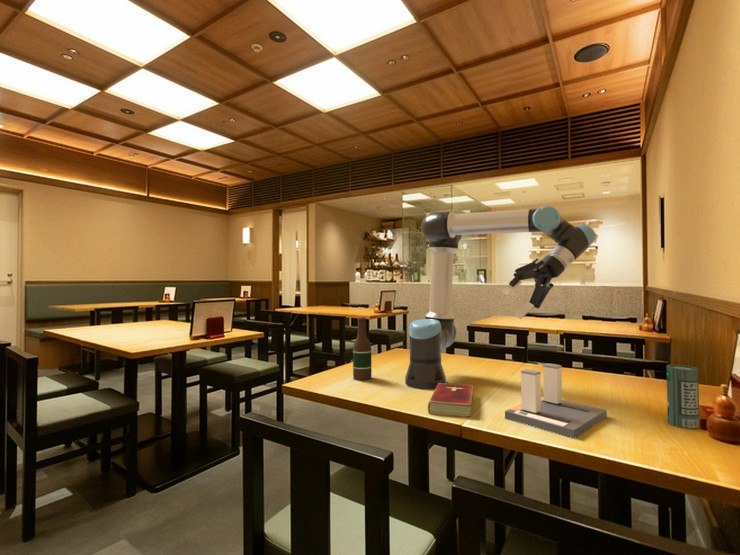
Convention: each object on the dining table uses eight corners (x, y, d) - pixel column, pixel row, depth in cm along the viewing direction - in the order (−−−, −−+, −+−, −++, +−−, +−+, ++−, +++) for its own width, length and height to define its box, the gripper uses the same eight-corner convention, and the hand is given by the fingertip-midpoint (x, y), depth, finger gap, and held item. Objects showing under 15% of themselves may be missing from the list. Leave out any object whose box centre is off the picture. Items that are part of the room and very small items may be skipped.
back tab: (543, 400, 112) (543, 364, 112) (548, 398, 114) (547, 363, 114) (557, 403, 109) (556, 366, 109) (562, 401, 110) (561, 365, 111)
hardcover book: (427, 415, 109) (427, 400, 109) (437, 394, 129) (437, 382, 129) (470, 419, 105) (470, 404, 105) (473, 397, 125) (473, 384, 125)
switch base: (504, 418, 104) (504, 370, 104) (542, 401, 118) (541, 359, 119) (573, 438, 90) (573, 383, 91) (606, 417, 105) (605, 369, 105)
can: (687, 420, 101) (685, 364, 102) (704, 429, 95) (703, 370, 96) (662, 420, 102) (661, 364, 102) (679, 428, 96) (677, 369, 96)
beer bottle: (349, 377, 151) (349, 317, 152) (367, 375, 155) (366, 316, 155) (357, 381, 144) (356, 318, 145) (375, 379, 148) (374, 317, 148)
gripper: (555, 241, 117) (507, 288, 116) (573, 288, 131) (530, 331, 130) (536, 233, 123) (490, 278, 122) (556, 280, 137) (514, 320, 136)
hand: (511, 305), depth 126 cm, fingers open, 13 cm apart
